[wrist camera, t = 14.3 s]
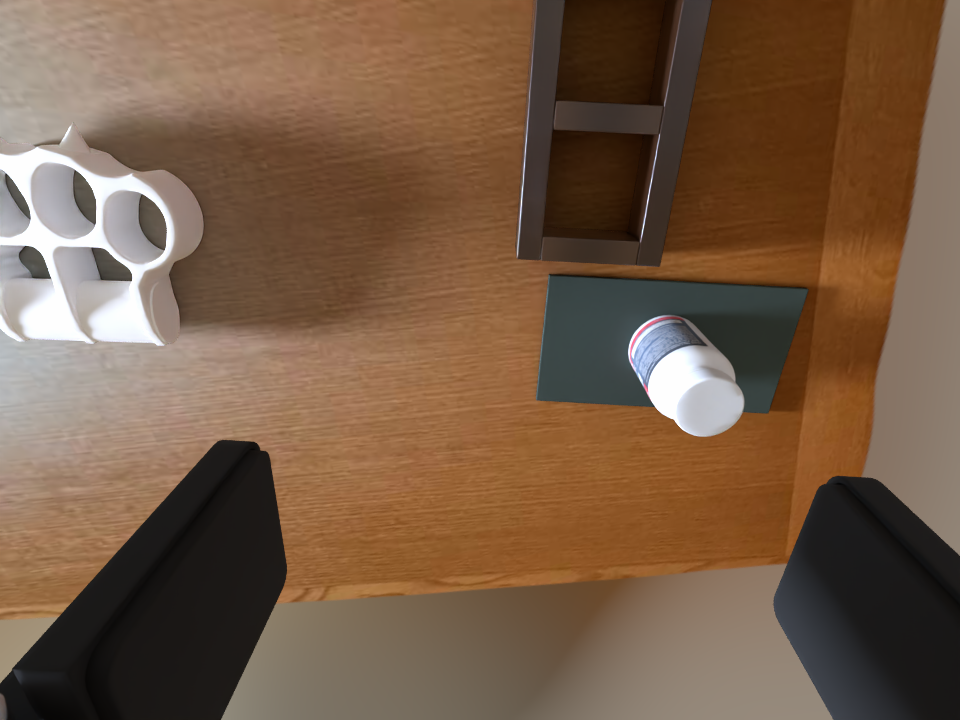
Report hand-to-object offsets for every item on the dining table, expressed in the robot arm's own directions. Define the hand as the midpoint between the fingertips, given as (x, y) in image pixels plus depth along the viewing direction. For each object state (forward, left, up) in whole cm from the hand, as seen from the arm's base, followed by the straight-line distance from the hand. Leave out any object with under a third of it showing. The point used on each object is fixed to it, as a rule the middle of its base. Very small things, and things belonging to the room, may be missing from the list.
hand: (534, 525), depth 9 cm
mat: (-12, +8, -28) cm, 32 cm away
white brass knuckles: (+30, +2, -28) cm, 41 cm away
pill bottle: (-12, +8, -28) cm, 32 cm away
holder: (-5, -7, -28) cm, 30 cm away
